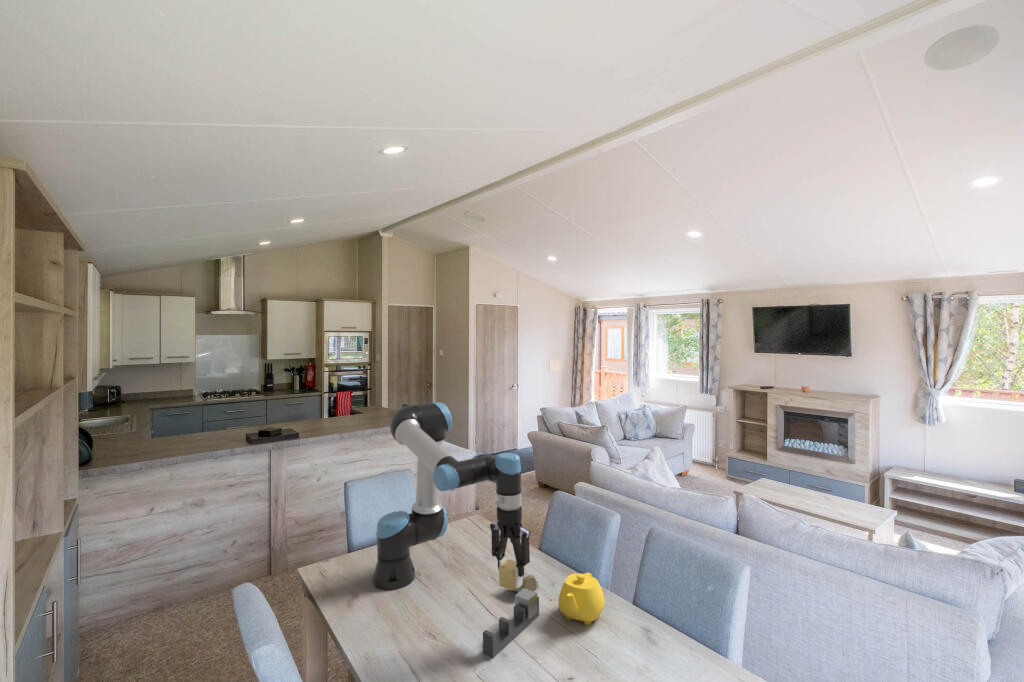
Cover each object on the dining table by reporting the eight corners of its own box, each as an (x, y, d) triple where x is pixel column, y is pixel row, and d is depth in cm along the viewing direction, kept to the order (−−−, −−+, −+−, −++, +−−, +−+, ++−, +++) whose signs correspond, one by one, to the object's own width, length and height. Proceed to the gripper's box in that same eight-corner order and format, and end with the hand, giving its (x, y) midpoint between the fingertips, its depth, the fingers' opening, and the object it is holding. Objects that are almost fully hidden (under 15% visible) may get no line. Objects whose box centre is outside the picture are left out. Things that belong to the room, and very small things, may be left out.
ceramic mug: (523, 600, 161) (522, 577, 161) (506, 591, 166) (506, 569, 166) (544, 589, 168) (544, 567, 168) (527, 580, 174) (527, 559, 174)
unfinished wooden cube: (499, 585, 142) (498, 565, 142) (509, 578, 146) (508, 559, 146) (513, 590, 139) (512, 570, 139) (522, 583, 143) (522, 563, 143)
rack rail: (483, 653, 134) (482, 632, 134) (529, 611, 154) (529, 593, 154) (493, 658, 132) (492, 636, 132) (539, 615, 152) (538, 596, 152)
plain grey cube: (515, 614, 149) (515, 595, 149) (524, 606, 153) (524, 588, 153) (528, 619, 146) (528, 600, 146) (537, 611, 150) (537, 592, 150)
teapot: (610, 606, 156) (610, 568, 156) (590, 641, 139) (589, 598, 138) (571, 596, 163) (570, 559, 163) (547, 628, 145) (546, 587, 145)
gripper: (478, 504, 145) (480, 580, 145) (527, 516, 134) (529, 598, 135) (493, 497, 151) (495, 570, 151) (541, 508, 140) (543, 586, 141)
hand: (511, 583), depth 143 cm, fingers closed on unfinished wooden cube, 5 cm apart
